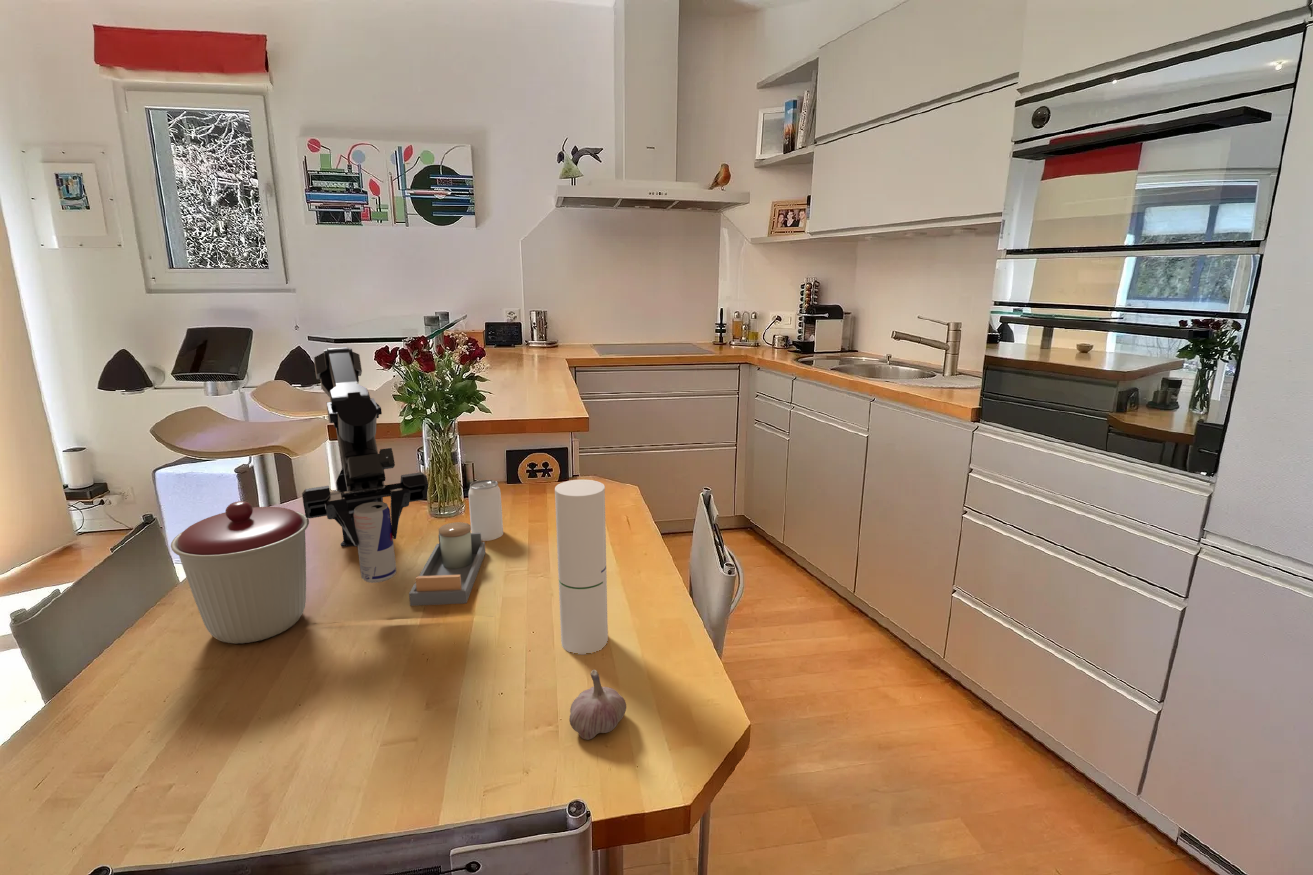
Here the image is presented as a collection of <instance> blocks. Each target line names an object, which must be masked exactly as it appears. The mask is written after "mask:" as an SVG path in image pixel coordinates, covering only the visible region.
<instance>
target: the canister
mask: <svg viewBox="0 0 1313 875" xmlns="http://www.w3.org/2000/svg"><path fill="white" fill-rule="evenodd" d="M309 524H310V518H306V516H305V513H302V512H299V511H295V510H293V509H290V508H286V507H277V506H256V507H255V506H254V507H253V505H252V504H251V503H249V502H248V501H244V500H238V501H235V502H234V501H233V502H232V503H230V504H228V506H227V507H226V508H225V512H221V513H218V514H215V515H212V516H209V517H207V518H204V519H202V520H199V521H197V522H194V523H193V524H191V525H190V526H188V527H187V528H185V529H184V530H183V531H182V532H180V533H178V534H177V535H176V536H175V537H174V538H173V540H172V541H171V543H170V548H171V551H172V552H173V553H174V554H176V556H177V555H178V557H179V561H180V562H181V566H182V568H183V572H184V574H185V577H186V580H187V582H188V585H189V588H190V590H191V594H192V596H193V599H194V602H195V605H196V607H197V610H198V612H199V614H200V617H201V619H202V622H203V624H204V626H205V628H206V630H207V632H208V633H209V634H210V635H211V636H212V637H213V638H215V639H216V640H218V641H219V642H222V643H228V644H234V645H235V644H245V643H246V644H249V643H253V642H254V643H255V642H258V641H263V640H265V639H270V638H271V637H275V636H276V635H279V634H281V633H283V632H285V631H287V630H288V629H290V628H291V627H293V626H294V625H295V624H296V623H297V622H298V621H299V620H300V619H301V617H302V615H303V614H304V611H305V608H306V603H307V554H306V553H307V551H306V550H307V548H306V546H307V545H306V531H307V529H308V527H309Z"/></svg>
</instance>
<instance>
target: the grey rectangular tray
mask: <svg viewBox="0 0 1313 875" xmlns="http://www.w3.org/2000/svg"><path fill="white" fill-rule="evenodd" d="M437 537H438V543H436V545H435V547H434V548H433V550H432V552H431V553H430V555H429V557H428V559H427V560H426V563H425V565H424V566H423V568H422V570H421V571H420V574H419V575H418V576H437V575H461V587H462V590H442V591H418V592H417V588H416V581H415V583H414V584H413V586H412V587H411V589H410V591H409V592H408V596H409V606H410V607H411V606H413V607H414V606H416V607H417V606H433V605H458V604H459V605H460V604H467V603H468V600H469V597H470V594H471V592H472V589H473V587H474V585H475V582H476V579H477V576H478V573H479V571H480V569H481V566H482V563H483V560H484V558H485V555H486V541H482V540H481V533H471V544H472V556H473V562H472V563H471V564H470V565H468V566H466V567H463V568H458V569H449V568H446V567H444V566H443V565H442V555H441V544H440V534H439V533H438V536H437Z"/></svg>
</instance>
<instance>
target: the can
mask: <svg viewBox="0 0 1313 875" xmlns="http://www.w3.org/2000/svg"><path fill="white" fill-rule="evenodd" d="M498 484H499V482H498V481H497V480H493V479H482V480H481V479H480V480H476V481H473V482H471V483H470V484H469V490H468V504H469V518H470V519H469V520H470V526H471V533H481V540H482V542H486V541H487V542H488V541H492V540H493V541H494V540H497V539H499V538H501V537H502V536H503V535H504V525H503V524H504V522H503V508H502V497H501V496H502V494H501V488H500V487H499V485H498Z"/></svg>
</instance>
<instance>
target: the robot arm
mask: <svg viewBox="0 0 1313 875" xmlns="http://www.w3.org/2000/svg"><path fill="white" fill-rule="evenodd" d="M313 359H314V360H313V362H314V363H313V364H314V369H315V370H314V371H315V377H316V380H320V387H321V390H322V391H323V392H324V393H325V395H327V396H328V397H329V402H326V411H327V416H328V421H329V424H333V427H334V428H335V430H336V436H337V437H336V438H337V443H338V444H337V446H338V451H339V458H340V459H339V460H340V464H341V469H340V471H339V474H338V476H337V479H336V482H335V488H336V489H334V490H333V491H331V490H330V485H323V486H317V487H311V488H305V489H304V490H303V491H302V493H301V496H302V503H303V504H302V505H303V508H304V509H303V510H304V515H305V516H306V518H308V519H314V518H321V517H326V518H327V520H334V521H335V522H337V524H338V525H339V526H340V527H341V530H342V537H343V540H342V542H340V547H358V542H357V536H356V531H355V523H354V515H353V514H354V511H355V510H354V509H355V508H356V507H357V506H359V505H361V504H364V503H369V502H384V498H387V497H390V507H389V509H390V517H391V526H392V535H393V540H397V536H398V528H399V521H400V517H401V515H402V511H403V508H407V507H409V505H410V503H412V502H413V503H414V502H420V501H423V500H425V499H427V496H428V490H429V481H428V478H427V475H426V474H425V473H424V472H422V471H419V472H414V473H412V472H411V473H408V474H407V473H406V474H401V475H400V481H399V482H398V483H396V482H395V483H391V484H390V483H389V484H385V482H386V473H385V470H389V469H390V470H391V469H394V468H395V465H396V464H395V463H396V462H395V456H394V452H393V448H392V447H386V448H381V449H379V451H378V445H377V441H376V434H377V419H379V418H380V416H381V415H382V407H381V406H380V405H379V403H378V402H376V400H375V398H374V397H371V396H370V392H369V390H368V388H367V387H366V386H363V385H361V384H359V382H360V377H361V376H362V373H363V369H362V363H361V357H360V353H358V352H354V351H353V348H351V347H348V346H347V347H346V346H344V347H332V348H331V347H328V348H327V349H323V352H322V353H320V354H318V355H315V356H314V358H313Z"/></svg>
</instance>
